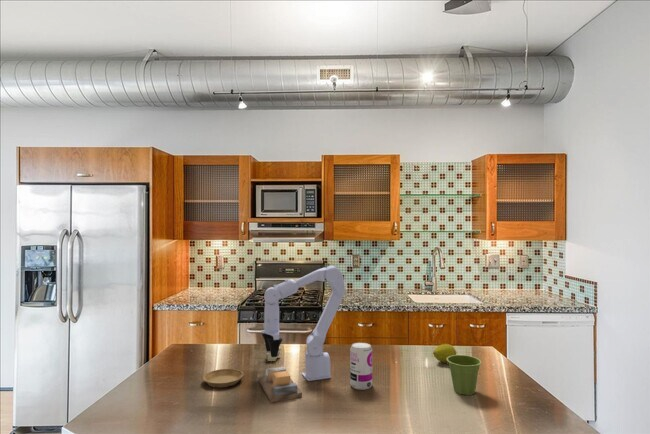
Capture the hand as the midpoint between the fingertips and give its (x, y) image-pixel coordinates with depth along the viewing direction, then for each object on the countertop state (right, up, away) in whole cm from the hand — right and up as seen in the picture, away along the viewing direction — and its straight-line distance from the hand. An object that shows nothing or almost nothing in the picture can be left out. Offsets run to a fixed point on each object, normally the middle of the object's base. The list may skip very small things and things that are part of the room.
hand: (271, 353), depth 158 cm
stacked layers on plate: (-2, -10, +22) cm, 24 cm away
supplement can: (+34, -10, -8) cm, 37 cm away
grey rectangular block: (+2, -8, -6) cm, 10 cm away
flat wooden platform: (+4, -9, -10) cm, 14 cm away
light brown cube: (+5, -8, -14) cm, 17 cm away
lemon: (+73, -10, +17) cm, 75 cm away
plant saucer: (-18, -10, -4) cm, 21 cm away
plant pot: (+71, -9, -13) cm, 72 cm away
